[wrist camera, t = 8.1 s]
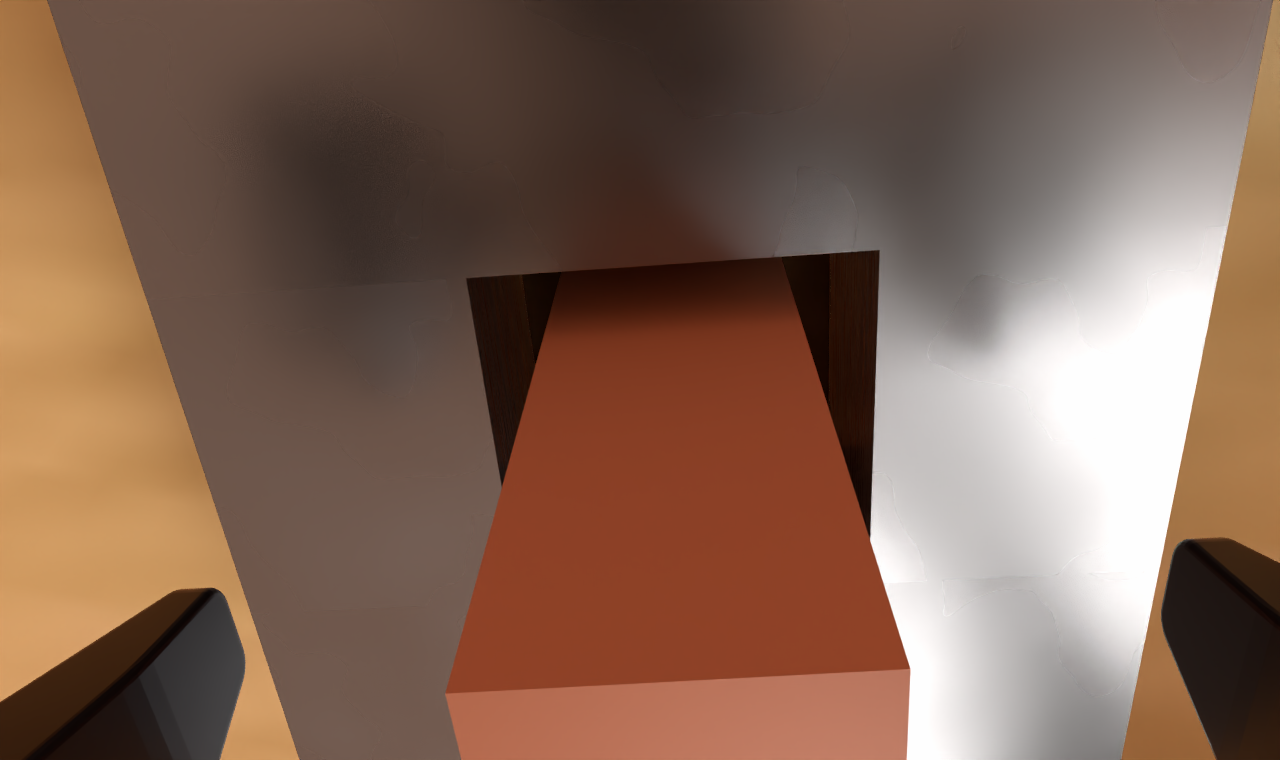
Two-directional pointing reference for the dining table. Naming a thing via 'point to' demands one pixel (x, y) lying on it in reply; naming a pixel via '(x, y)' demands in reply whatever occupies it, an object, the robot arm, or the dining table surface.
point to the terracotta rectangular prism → (678, 542)
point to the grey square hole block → (672, 234)
